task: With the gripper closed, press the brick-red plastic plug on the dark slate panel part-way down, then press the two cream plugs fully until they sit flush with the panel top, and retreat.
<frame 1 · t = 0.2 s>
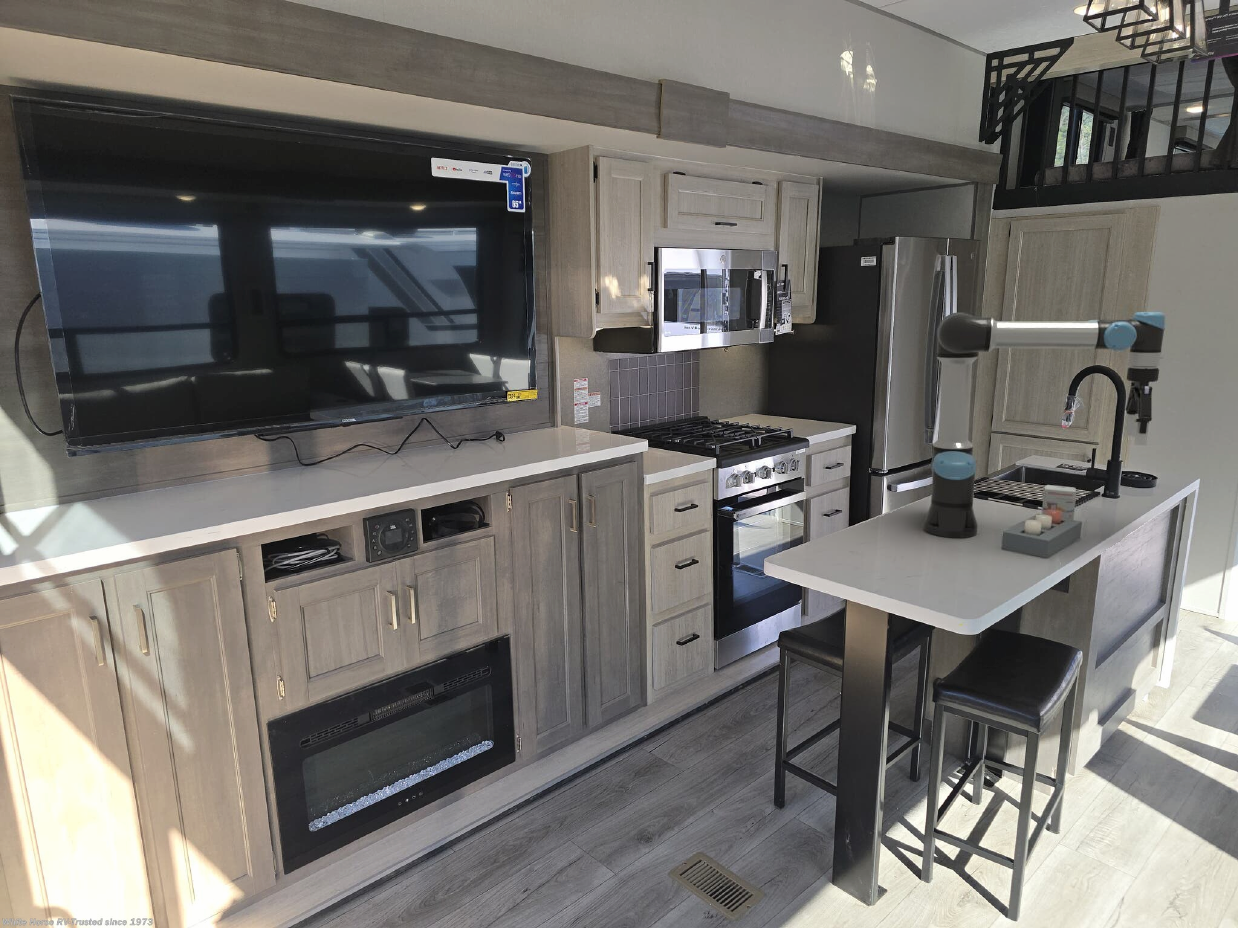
hand: (1134, 440, 228), 27 cm above the kitchen island, fingers open, 13 cm apart
cream plug A: (1032, 530, 219), point 6 cm above the kitchen island, slide at 0.0 cm
cream plug B: (1043, 524, 223), point 6 cm above the kitchen island, slide at 0.0 cm
panel: (1041, 543, 225), on the kitchen island
ink box: (1056, 525, 242), on the kitchen island
brick-red plug: (1053, 519, 228), point 6 cm above the kitchen island, slide at 0.0 cm
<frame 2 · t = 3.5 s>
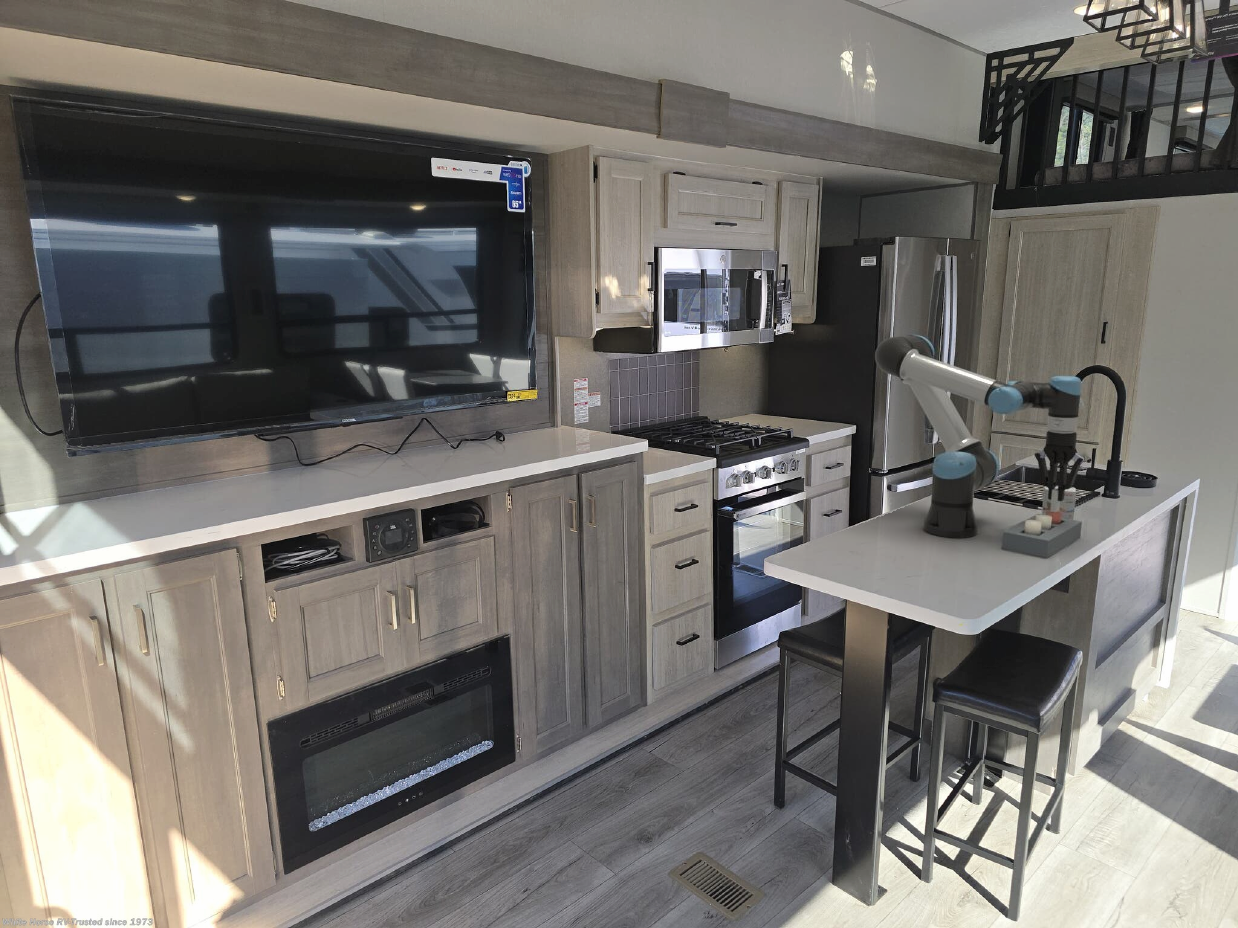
hand: (1054, 511, 228), 8 cm above the kitchen island, fingers closed
brick-red plug: (1053, 519, 228), point 5 cm above the kitchen island, slide at 0.2 cm, touching gripper
everything else where it was.
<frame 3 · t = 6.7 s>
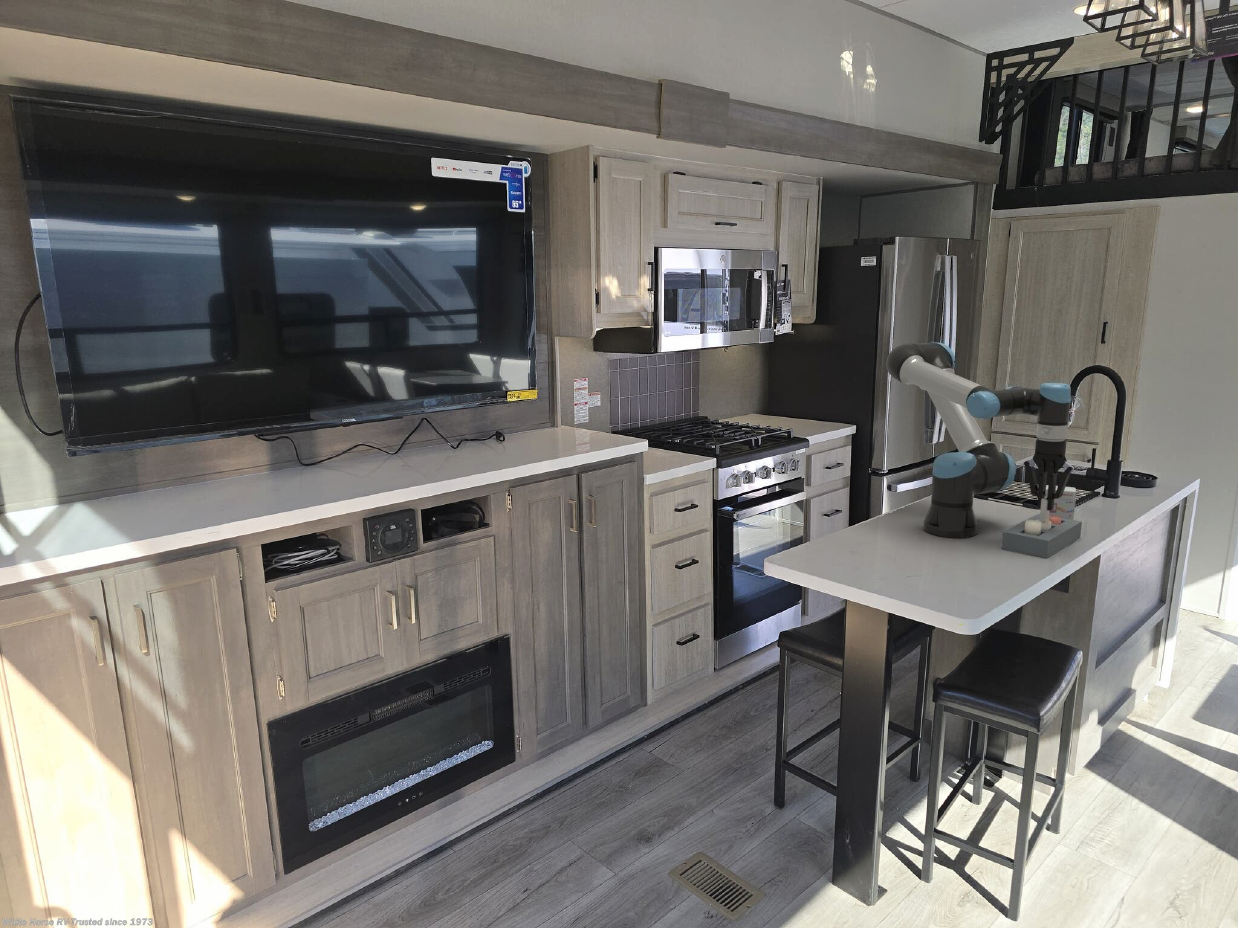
hand: (1044, 520, 223), 7 cm above the kitchen island, fingers closed
cream plug B: (1042, 529, 224), point 4 cm above the kitchen island, slide at 1.5 cm, touching gripper
brick-red plug: (1052, 525, 229), point 4 cm above the kitchen island, slide at 2.0 cm
everything else where it was.
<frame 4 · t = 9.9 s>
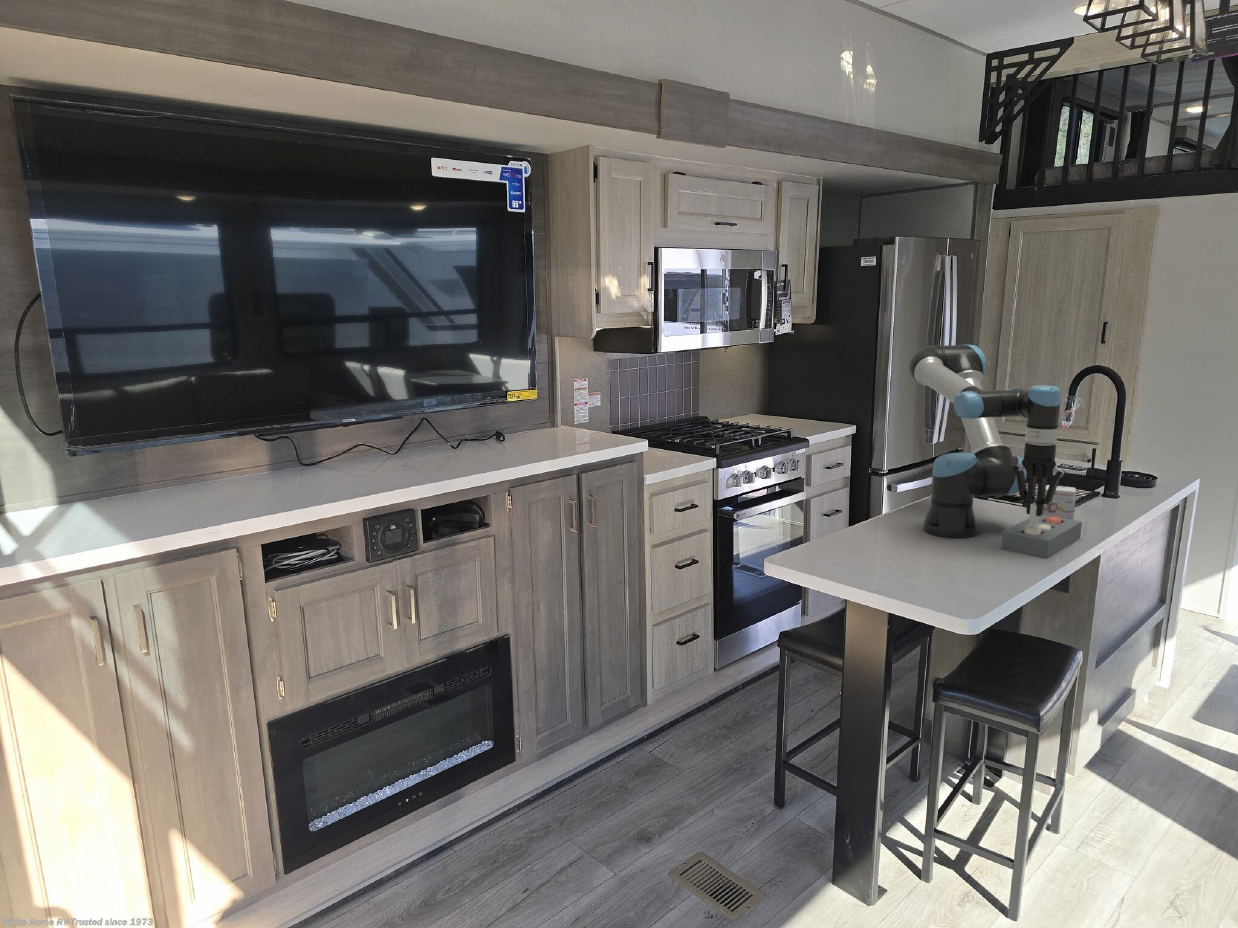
hand: (1033, 526, 218), 7 cm above the kitchen island, fingers closed
cream plug A: (1032, 535, 219), point 4 cm above the kitchen island, slide at 1.5 cm, touching gripper
cream plug B: (1042, 533, 224), point 3 cm above the kitchen island, slide at 2.8 cm
everything else where it was.
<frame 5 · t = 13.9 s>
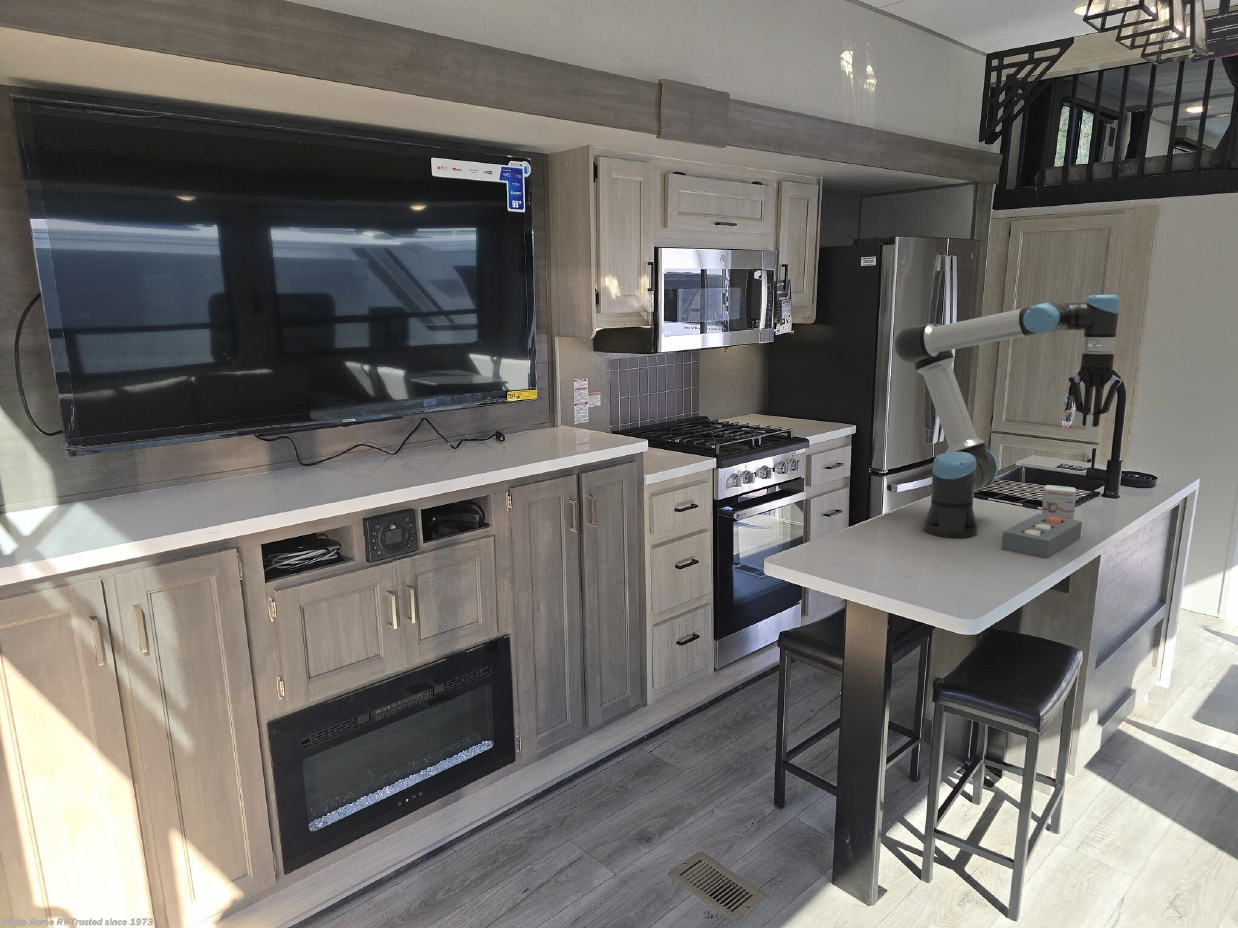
hand: (1089, 437, 218), 30 cm above the kitchen island, fingers closed
cream plug A: (1031, 539, 219), point 3 cm above the kitchen island, slide at 2.8 cm
everything else where it was.
at the end: brick-red plug slide at 2.0 cm; cream plug B slide at 2.8 cm; cream plug A slide at 2.8 cm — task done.
